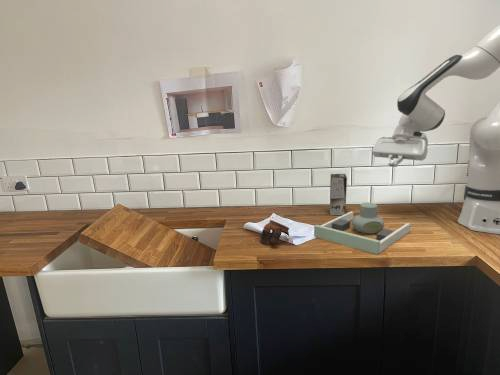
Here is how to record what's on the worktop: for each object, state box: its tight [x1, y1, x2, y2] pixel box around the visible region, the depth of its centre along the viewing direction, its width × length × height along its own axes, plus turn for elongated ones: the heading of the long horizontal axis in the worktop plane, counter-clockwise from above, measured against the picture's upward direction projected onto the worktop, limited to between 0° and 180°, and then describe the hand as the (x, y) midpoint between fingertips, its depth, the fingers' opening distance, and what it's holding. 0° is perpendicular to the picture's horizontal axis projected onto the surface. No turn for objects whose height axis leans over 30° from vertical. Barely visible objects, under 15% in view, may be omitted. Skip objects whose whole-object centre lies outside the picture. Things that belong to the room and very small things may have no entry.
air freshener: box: [351, 202, 385, 235], centre depth 124 cm, size 11×8×10 cm
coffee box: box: [329, 173, 348, 216], centre depth 146 cm, size 9×6×16 cm
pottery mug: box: [259, 219, 290, 246], centre depth 117 cm, size 12×10×8 cm
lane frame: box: [313, 211, 411, 255], centre depth 122 cm, size 23×26×4 cm
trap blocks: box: [332, 219, 395, 241], centre depth 122 cm, size 21×6×2 cm, turn 46°
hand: (392, 165), depth 133 cm, fingers closed
